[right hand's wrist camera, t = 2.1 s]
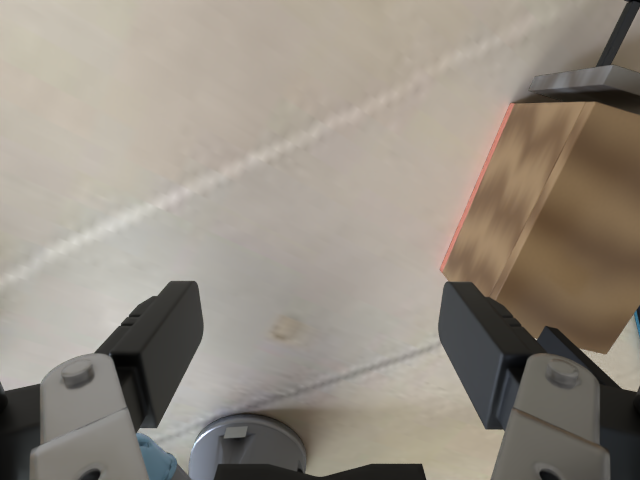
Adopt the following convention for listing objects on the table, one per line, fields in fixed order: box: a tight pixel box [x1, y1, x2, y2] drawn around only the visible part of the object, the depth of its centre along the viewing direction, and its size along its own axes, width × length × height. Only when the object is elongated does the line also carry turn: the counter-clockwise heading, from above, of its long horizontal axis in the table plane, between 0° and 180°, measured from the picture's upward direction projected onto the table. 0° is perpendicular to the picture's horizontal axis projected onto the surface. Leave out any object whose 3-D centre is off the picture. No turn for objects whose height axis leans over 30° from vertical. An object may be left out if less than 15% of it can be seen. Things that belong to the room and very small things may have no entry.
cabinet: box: [440, 102, 640, 354], centre depth 30 cm, size 17×11×10 cm, turn 165°
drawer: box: [529, 0, 640, 115], centre depth 28 cm, size 22×10×9 cm, turn 165°
